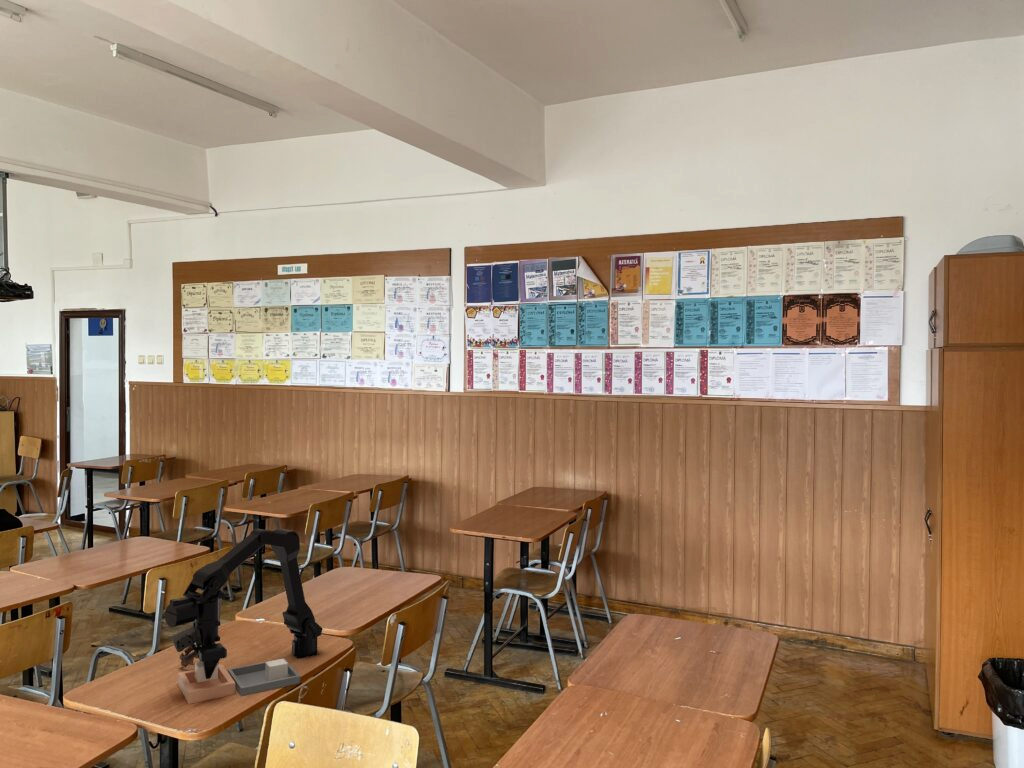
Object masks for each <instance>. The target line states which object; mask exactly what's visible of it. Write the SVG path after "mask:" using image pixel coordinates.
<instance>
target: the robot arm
mask: <svg viewBox="0 0 1024 768" xmlns="http://www.w3.org/2000/svg"><path fill="white" fill-rule="evenodd" d="M300 539H301V538H300V535H299V534H298V533H297V532H296V531H294V530H289V529H287V528H286V529H284V528H276V529H274V530H270V529H261V528H254V529H253V530H251V531H250V533H249V534H248V535H247V536H246V537H245V538H243V539H242V540H241V541H240V542H239V543H237V544H236V545H235V546H234V547H232V548H231V549H230V550H229V551H227V552H226V553H225V554H224V555H223V556H222V557H221V558H219V559H217V560H216V561H213V562H211V563H207V564H205V565H204V566H202V567H201V568H199V569H197V570H196V571H195V572H194V573H193V575H192V579H191V581H190V583H189V585H188V586H187V587H186V589H185V591H184V592H183V594H182V596H183V597H179V598H173V599H170V600H169V604H168V605H167V606H166V609H165V611H164V620H165V622H166V625H168V626H167V627H169V628H176V627H179V626H183V625H186V624H189V623H192V626H191V627H189V628H185V629H183V630H182V631H180V632H177V633H176V634H173V635H172V636H171V638H170V639H171V641H172V643H173V644H172V645H173V646H174V648H175V650H176V652H177V653H180V652H181V653H182V651H183V652H184V650H185V649H187V648H188V647H189V646H191V647H192V649H193V651H196V652H197V653H198V655H197V657H198V658H197V659H198V660H199V661H201V662H203V665H204V671H205V676H206V679H209V678H211V676H212V674H213V672H214V670H215V668H216V666H217V664H218V662H219V663H220V660H221V659H225V658H227V657H228V653H227V652H228V651H227V648H226V647H225V646H224V644H222V643H221V642H220V641H221V637H220V635H219V627H220V626H221V621H220V620H219V618H220V617H219V615H220V613H219V610H220V608H219V604H220V599H225V598H226V597H228V596H227V594H226V593H224V592H223V591H222V590H221V589H222V588H223V587H224V586H225V585H226V583H227V582H228V580H229V578H230V576H231V574H232V573H233V572H234V571H235V570H236V569H238V568H239V567H240V566H241V565H242V564H243V563H244V562H246V560H248V559H249V558H250V557H251V556H253V555H254V554H255V553H256V552H257V551H259V549H261V548H262V547H263V546H265V545H269V546H270V547H271V550H272V552H273V553H274V554H275V556H276V557H277V559H278V560H279V563H280V568H281V573H282V579H283V583H284V584H283V585H284V589H285V594H286V599H287V608H286V610H285V611H283V612H281V613H282V617H283V624H284V625H285V627H287V629H288V630H289V632H290V634H291V635H292V634H293V640H291V655H293V656H294V657H296V658H297V659H298V660H299V659H305V658H310V657H314V656H319V655H320V654H319V652H318V637H320V636H322V632H323V627H322V626H321V625H319V623H318V622H316V618H315V616H314V612H313V611H312V609H311V607H310V606H309V604H308V602H306V598H305V593H304V587H303V583H302V582H303V581H302V578H301V573H300V566H299V561H298V555H299V552H300V550H301V541H300ZM197 591H199V592H197ZM201 592H202V593H201ZM193 644H194V645H193Z"/></svg>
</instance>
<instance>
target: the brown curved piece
mask: <svg viewBox="0 0 1024 768" xmlns="http://www.w3.org/2000/svg"><path fill="white" fill-rule="evenodd" d="M193 645H194V644H193ZM183 652H184V653H183ZM183 652H181V654H180V655H179V657H178V658H179V659H180V666H182V667H187V666H188V665H192V666H194V659H199V658H198V657H197V655H198V653H197V652H196V651H194V650H193V649H192V647H191V646H189V647H187V648H185V649H184V650H183ZM219 663H220V661H219V662H218V665H220V664H219Z"/></svg>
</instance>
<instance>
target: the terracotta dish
mask: <svg viewBox="0 0 1024 768" xmlns="http://www.w3.org/2000/svg"><path fill="white" fill-rule="evenodd" d="M177 685H178V687H179V689H180V691H181V692H182V695H183V696H184V698H185V700H186V702H187V704H188V705H189V704H195V703H200V702H205V701H209V700H214V699H218V698H219V699H220V698H222V697H227V696H232V695H235V694H236V688H235V682H234V680H233V679H232V678H231V676H230V675H229V673H228V669H227V668H226V667H225V666H224V665H223V664H219V665H218V679H213V680H208V681H203V682H197V680H196V679H195V669H192V670H191V669H190V670H185V671H180V672H178V673H177Z"/></svg>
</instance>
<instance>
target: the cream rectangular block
mask: <svg viewBox="0 0 1024 768" xmlns="http://www.w3.org/2000/svg"><path fill="white" fill-rule="evenodd" d="M194 670H195V679H196V680H197V682H203V681H208V680H213V679H218V664H217V666H216V668H215V670H214V672H213V674H212V676H211V678H209V679H206V676H205V671H204V665H203V662H201V661H200V660H199V661H195V662H194Z"/></svg>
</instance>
